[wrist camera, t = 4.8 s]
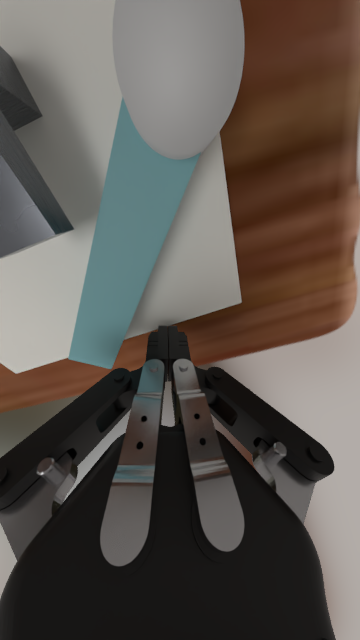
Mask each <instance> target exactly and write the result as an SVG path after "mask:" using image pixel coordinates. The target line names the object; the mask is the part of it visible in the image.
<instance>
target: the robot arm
mask: <svg viewBox="0 0 360 640" xmlns="http://www.w3.org/2000/svg"><path fill="white" fill-rule="evenodd" d="M167 378H168V381H171V384H172V388H171V393H172V402H173V410H174V418H175V426H173V427H167V426H163V425H161V420H162V408H163V395H164V389H165V382H166V381H167ZM130 409H131V412H130V416H129V420H128V425H127V429H126V433H124V434H123V435H121V436H120V437H118V438H117V439H116V440H115V441H114V442H113V443H112V444H111V445H110V447H109V448H108V449H107V450H106V451H105V452H104V454H103V455H102V456H101V457H100V459H99V460H98V461H97V462H96V463H95V465H94V466H93V467H92V468H91V470H90V471H89V472H88V473H87V474H86V475H85V477H84V478H83V479H82V481H81V482H80V483H79V484H78V485H77V486H76V488H75V489H74V490H73V491H72V492H71V494H70V495H69V496H68V497H67V499H66V500H65V501H64V499H65V497H66V495H67V493H68V492H69V490H70V489H71V488H72V486H73V485H74V483H75V481H76V478H77V474H78V467H77V466H78V465H79V464H80V463H81V461H83V460H84V459H85V457H86V456H87V455H88V454H89V453H90V452H91V451H92V450H93V449H94V448H95V447H96V446H97V445H98V444H99V442H100V441H101V440H102V439H103V438H104V437H105V436H106V435H107V434H108V433H109V432H110V431H111V430H112V429H113V427H114V426H115V425H116V424H117V423H118V422H119V421H120V420H121V419H122V418H123V417H124V416H125V414H126V413H127V412H128V411H129V410H130ZM211 414H212V415H213V416H214V417H215V418H216V419H217V420H218V421H219V422H220V423H221V424H222V425H223V426H224V427H225V428H226V429H227V430H228V431H229V432H230V433H231V434H232V435H233V436H234V437H235V438H236V439H237V440H238V441H239V442H240V443H241V444H242V445H243V446H244V447H245V448H246V449H247V450H248V451H249V452H250V453H251V454H252V460H253V464H254V466H255V468H256V470H257V471H258V472H259V473H258V472H257V471H256V470H255V469H254V468H253V467H252V465H251V464H250V463H249V462H248V461H247V460H246V459H245V458H244V457H243V456H242V455H241V453H240V452H239V451H238V450H237V449H236V448H235V447H234V446H233V445H232V444H231V443H230V441H228V439H227V438H226V437H225V436H224V435H223V434H222V433H220V432H219V431H217V430H216V429H215V427H214V423H213V420H212V416H211ZM333 471H334V463H333V460H332V458H331V456H330V454H329V453H328V451H327V450H326V449H325V448H324V447H323V446H322V445H321V444H320V443H319V442H317V441H316V440H315V439H313V438H312V437H311V436H309V435H308V434H307V433H305V432H304V431H303V430H301V429H300V428H299V427H298V426H296V425H295V424H294V423H292V422H291V421H290V420H288V419H287V418H286V417H284V416H283V415H282V414H280V413H279V412H278V411H276V410H275V409H274V408H273V407H271V406H270V405H269V404H267V403H266V402H265V401H263V400H262V399H261V398H259V397H258V396H256V394H254V393H253V392H252V391H250V390H249V389H248V388H246V387H245V386H244V385H242V384H241V383H240V382H238V381H237V380H236V379H234V378H233V377H232V376H230V375H229V374H228V373H226V372H225V371H224V370H223V369H221V368H218V367H211V368H209V369H208V370H203V369H200V368H197V367H196V366H194V365H193V363H192V362H191V358H190V353H189V347H188V342H187V336H186V335H185V333H184V332H178V330H177V326H168V329H167V326H158V332H151V334H150V335H149V337H148V346H147V355H146V362H145V364H144V365H143V366H142V367H141V368H139V369H137V370H134V371H131V372H129V371H128V370H127V369H125V368H118V369H115V370H113V371H111V372H110V373H109V374H108V375H106V376H105V377H104V378H102V379H101V380H100V381H99V382H97V383H96V384H95V385H93V386H92V387H91V388H90V389H88V390H87V391H86V392H84V393H83V394H82V395H81V396H79V397H78V398H77V399H75V400H74V401H73V402H72V403H70V404H69V405H68V406H67V407H65V408H64V409H63V410H61V411H60V412H59V413H58V414H56V415H55V416H54V417H52V418H51V419H50V420H49V421H47V422H46V423H45V424H44V425H42V426H41V427H40V428H38V429H37V430H36V431H34V432H33V433H32V434H31V435H29V436H28V437H27V438H26V439H24V440H23V441H22V442H20V443H19V444H18V445H17V446H15V447H14V448H13V449H12V450H10V451H9V452H8V453H6V454H5V455H4V456H2V457H1V458H0V523H1V525H2V527H3V529H4V532H5V534H6V536H7V539H8V541H9V543H10V545H11V548H12V550H13V552H14V554H15V557H16V559H17V563H16V565H15V567H14V568H13V570H12V572H11V574H10V576H9V579H8V581H7V583H6V586H5V588H4V591H3V593H2V596H1V599H0V640H336V639H335V635H334V632H333V628H332V625H331V620H330V616H329V612H328V607H327V602H326V597H325V589H324V582H323V574H322V569H321V565H320V560H319V557H318V554H317V551H316V549H315V546H314V544H313V541H312V539H311V537H310V535H309V533H308V532H307V530H306V528H305V526H304V525H303V524H304V520H305V517H306V513H307V510H308V507H309V503H310V500H311V496H312V493H313V489H314V486H315V483H316V482H317V481H319V480H321V479H323V478H325V477H327V476H328V475H330V474H332V473H333ZM63 501H64V502H63Z"/></svg>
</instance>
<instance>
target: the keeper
mask: <svg viewBox="0 0 360 640" xmlns="http://www.w3.org/2000/svg"><path fill="white" fill-rule="evenodd" d="M40 117H42V114H41V112H40V110H39V108H38V106H37V104H36V102H35V101H34V99H33V97H32V95H31V93H30V91H29V89H28V87H27V85H26V84H25V82H24V80H23V78H22V76H21V74H20V72H19V70H18V68H17V67H16V65H15V63H14V61H13V59H12V57H11V56H10V55H9V54H8V53H7V52H6V51H5V50H4V49H3V48H2V47H1V46H0V259H1V258H4V257H7V256H10V255H13V254H16V253H19V252H21V251H23V250H26V249H28V248H31V247H33V246H36V245H38V244H40V243H43V242H45V241H48V240H50V239H52V238H55V237H57V236H60V235H62V234H65V233H67V232H69V231H72V230H74V228H73V226H72V224H71V223H70V221H69V220H68V218H67V216H66V215H65V213H64V212H63V210H62V208H61V207H60V205H59V203H58V202H57V200H56V199H55V197H54V195H53V194H52V192H51V190H50V189H49V187H48V186H47V184H46V182H45V181H44V179H43V178H42V176H41V174H40V173H39V171H38V169H37V168H36V166H35V165H34V163H33V161H32V160H31V158H30V156H29V155H28V153H27V152H26V150H25V148H24V147H23V145H22V144H21V142H20V140H19V139H18V137H17V135H16V134H15V132H14V131H15V130H17V129H19V128H21V127H23V126H25V125H27V124H28V123H30V122H32V121H34V120H36V119H38V118H40Z"/></svg>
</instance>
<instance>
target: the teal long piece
mask: <svg viewBox="0 0 360 640" xmlns="http://www.w3.org/2000/svg"><path fill="white" fill-rule="evenodd" d="M112 39H113V55H114V63H115V69H116V74H117V79H118V83H119V86H120V90H121V93H122V96H123V97H122V101H121V106H120V111H119V116H118V121H117V126H116V130H115V135H114V140H113V145H112V150H111V155H110V159H109V164H108V169H107V174H106V179H105V184H104V188H103V193H102V198H101V203H100V208H99V212H98V217H97V222H96V227H95V232H94V237H93V241H92V246H91V251H90V256H89V261H88V266H87V270H86V275H85V280H84V285H83V290H82V295H81V299H80V304H79V309H78V314H77V319H76V324H75V328H74V333H73V338H72V343H71V348H70V353H69V357H68V359H70V360H74V361H79V362H83V363H87V364H91V365H95V366H100V367H104V368H108V369H112V366H113V364H114V361H115V359H116V356H117V354H118V352H119V349H120V347H121V344H122V342H123V340H124V337H125V335H126V332H127V330H128V327H129V325H130V323H131V320H132V318H133V315H134V313H135V311H136V308H137V306H138V303H139V301H140V299H141V296H142V294H143V291H144V289H145V286H146V284H147V282H148V279H149V277H150V274H151V272H152V270H153V267H154V265H155V262H156V260H157V257H158V255H159V253H160V250H161V248H162V245H163V243H164V241H165V238H166V236H167V233H168V231H169V228H170V226H171V224H172V221H173V219H174V216H175V214H176V212H177V209H178V207H179V204H180V202H181V199H182V197H183V195H184V192H185V190H186V187H187V185H188V183H189V180H190V178H191V175H192V173H193V170H194V168H195V166H196V163H197V161H198V158H199V157H200V156H201V155H202V153H203V152H204V151H205V149H206V148H207V147H208V146H209V144H210V143H211V142H212V140H213V139H214V138H215V136H216V135H217V134H218V132H219V131H220V130H221V128H222V127H223V125H224V124H225V122H226V120H227V119H228V117H229V115H230V112H231V110H232V108H233V105H234V103H235V100H236V97H237V94H238V90H239V86H240V82H241V77H242V70H243V63H244V47H245V46H244V24H243V15H242V10H241V4H240V0H116V1H115V7H114V16H113V33H112Z"/></svg>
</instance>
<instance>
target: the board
mask: <svg viewBox="0 0 360 640" xmlns="http://www.w3.org/2000/svg"><path fill="white" fill-rule="evenodd" d="M115 1H116V0H0V46H1V47H2V48H3V49H4V50H5V51H6V52H7V53H8V54H9V55H10V56H11V57H12V59H13V61H14V63H15V65H16V67H17V68H18V70H19V72H20V74H21V76H22V78H23V80H24V82H25V84H26V85H27V87H28V89H29V91H30V93H31V95H32V97H33V99H34V101H35V102H36V104H37V106H38V108H39V110H40V112H41V114H42V117H40V118H38V119H36V120H34V121H32V122H30V123H28V124H27V125H25V126H23V127H21V128H19V129H17V130H15V131H14V132H15V134H16V135H17V137H18V139H19V140H20V142H21V144H22V145H23V147H24V148H25V150H26V152H27V153H28V155H29V156H30V158H31V160H32V161H33V163H34V165H35V166H36V168H37V169H38V171H39V173H40V174H41V176H42V178H43V179H44V181H45V182H46V184H47V186H48V187H49V189H50V190H51V192H52V194H53V195H54V197H55V199H56V200H57V202H58V203H59V205H60V207H61V208H62V210H63V212H64V213H65V215H66V216H67V218H68V220H69V221H70V223H71V224H72V226H73V228H74V230H72V231H69V232H67V233H65V234H62V235H60V236H57V237H55V238H52V239H50V240H48V241H45V242H43V243H40V244H38V245H36V246H33V247H31V248H28V249H26V250H23V251H21V252H19V253H16V254H13V255H10V256H7V257H4V258H1V259H0V363H1V364H3V365H4V366H6V367H7V368H9V369H10V370H11V371H13V372H14V373H16V374H17V373H20V372H23V371H26V370H30V369H33V368H36V367H39V366H42V365H45V364H49V363H52V362H55V361H58V360H61V359H64V358H68V357H69V353H70V348H71V343H72V338H73V333H74V328H75V324H76V319H77V314H78V309H79V304H80V299H81V295H82V290H83V285H84V280H85V275H86V270H87V266H88V261H89V256H90V251H91V246H92V241H93V237H94V232H95V227H96V222H97V217H98V212H99V208H100V203H101V198H102V193H103V188H104V184H105V179H106V174H107V169H108V164H109V159H110V155H111V150H112V145H113V140H114V135H115V130H116V126H117V121H118V116H119V111H120V106H121V101H122V97H123V96H122V93H121V90H120V86H119V83H118V79H117V74H116V69H115V63H114V55H113V39H112V33H113V16H114V7H115ZM239 303H242V300H241V293H240V285H239V277H238V269H237V262H236V254H235V246H234V239H233V231H232V223H231V215H230V208H229V200H228V192H227V185H226V177H225V169H224V162H223V154H222V146H221V138H220V131H219V132H218V134H217V135H216V136H215V138H214V139H213V140H212V142H211V143H210V144H209V146H208V147H207V148H206V149H205V151H204V152H203V153H202V155H201V156H200V157H199V158H198V161H197V163H196V166H195V168H194V170H193V173H192V175H191V178H190V180H189V183H188V185H187V187H186V190H185V192H184V195H183V197H182V199H181V202H180V204H179V207H178V209H177V212H176V214H175V216H174V219H173V221H172V224H171V226H170V228H169V231H168V233H167V236H166V238H165V241H164V243H163V245H162V248H161V250H160V253H159V255H158V257H157V260H156V262H155V265H154V267H153V270H152V272H151V274H150V277H149V279H148V282H147V284H146V286H145V289H144V291H143V294H142V296H141V299H140V301H139V303H138V306H137V308H136V311H135V313H134V315H133V318H132V320H131V323H130V325H129V327H128V330H127V332H126V335H125V337H124V340H125V339H128V338H131V337H134V336H138V335H141V334H144V333H147V332H150V331H153V330H157V329H158V326H169V325H173V324H176V323H179V322H182V321H185V320H188V319H192V318H195V317H198V316H201V315H204V314H207V313H211V312H214V311H217V310H220V309H223V308H227V307H230V306H233V305H236V304H239Z"/></svg>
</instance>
